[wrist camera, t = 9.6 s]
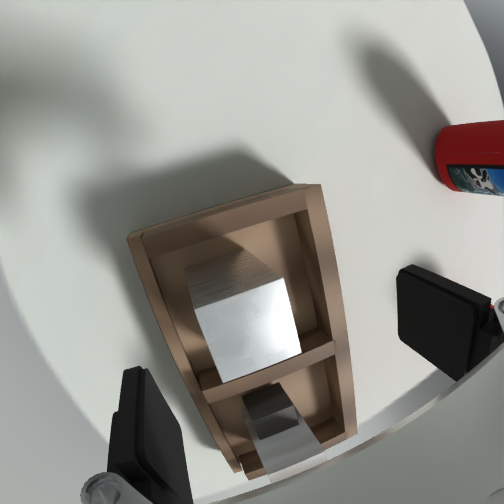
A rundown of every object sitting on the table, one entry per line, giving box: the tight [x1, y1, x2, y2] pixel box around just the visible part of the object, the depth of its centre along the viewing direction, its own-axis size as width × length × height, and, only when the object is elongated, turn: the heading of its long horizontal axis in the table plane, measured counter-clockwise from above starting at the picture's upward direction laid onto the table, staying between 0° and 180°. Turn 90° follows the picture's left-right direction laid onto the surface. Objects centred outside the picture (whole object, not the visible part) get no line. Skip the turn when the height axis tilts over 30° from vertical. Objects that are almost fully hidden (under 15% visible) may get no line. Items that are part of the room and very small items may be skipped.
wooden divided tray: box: [127, 184, 357, 483], centre depth 20 cm, size 22×12×9 cm, turn 15°
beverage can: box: [435, 120, 504, 196], centre depth 20 cm, size 7×7×12 cm
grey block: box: [184, 248, 302, 383], centre depth 17 cm, size 6×4×7 cm, turn 15°
